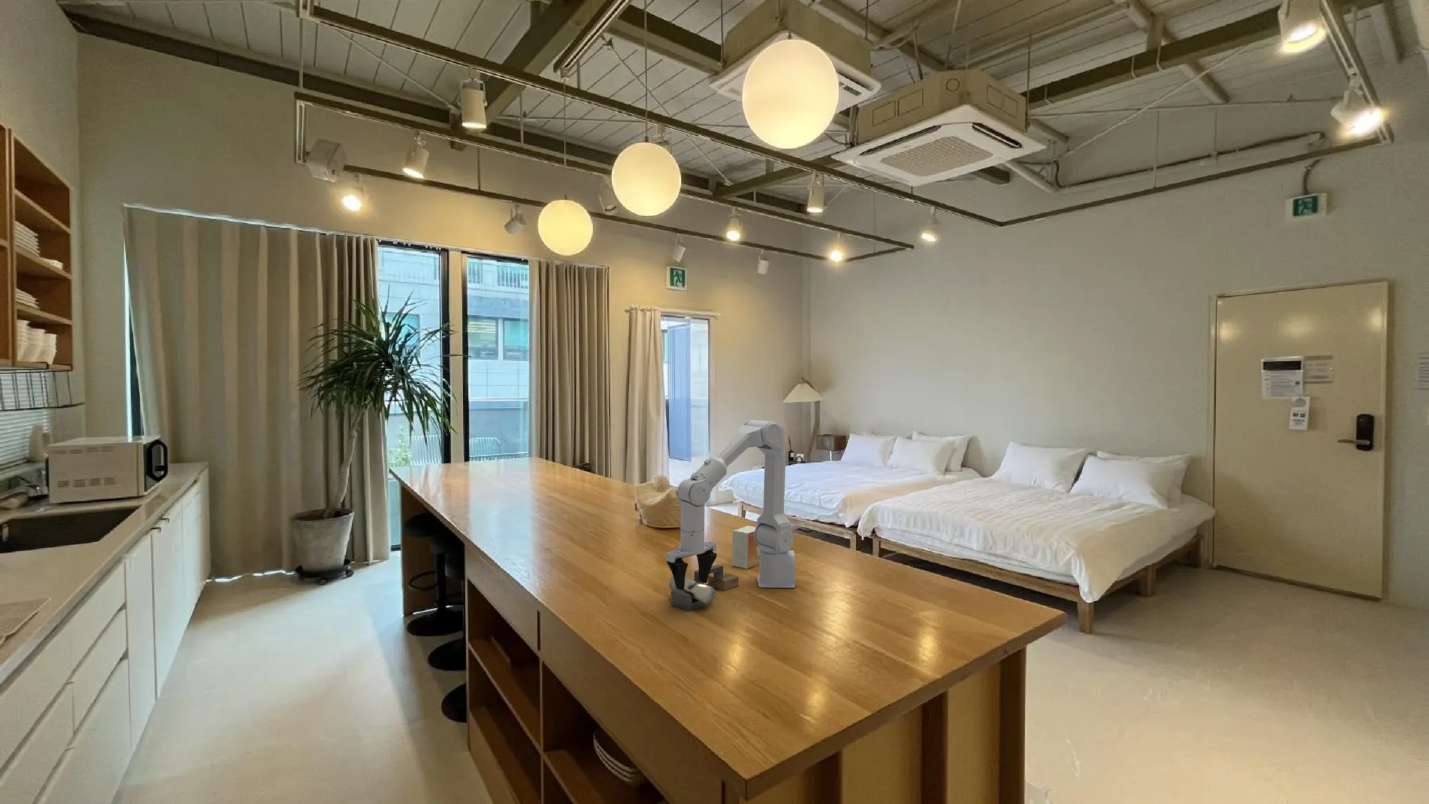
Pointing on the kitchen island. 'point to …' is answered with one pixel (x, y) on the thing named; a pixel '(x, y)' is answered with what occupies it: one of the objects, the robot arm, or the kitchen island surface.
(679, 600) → the cradle
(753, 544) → the small box
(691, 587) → the axle
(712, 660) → the kitchen island surface
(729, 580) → the bearing block
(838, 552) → the kitchen island surface
